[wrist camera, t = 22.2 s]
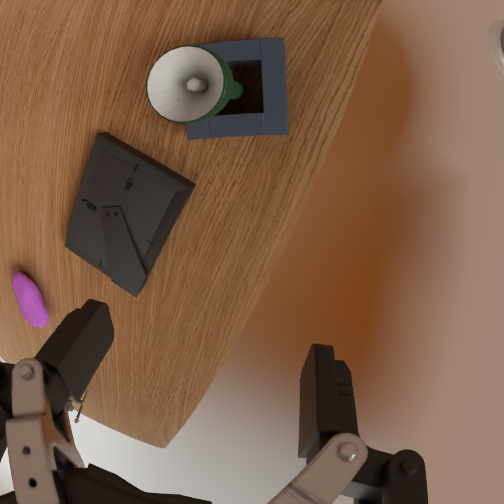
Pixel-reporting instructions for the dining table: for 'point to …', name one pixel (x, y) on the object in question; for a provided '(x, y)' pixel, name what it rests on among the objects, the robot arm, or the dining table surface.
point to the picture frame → (125, 211)
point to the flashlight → (191, 84)
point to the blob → (30, 300)
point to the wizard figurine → (70, 407)
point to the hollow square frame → (274, 91)
